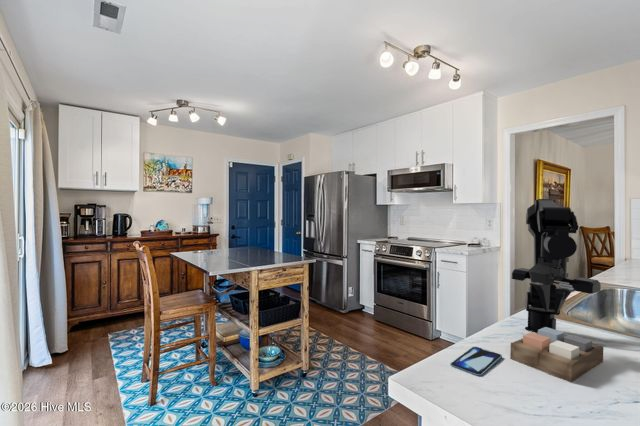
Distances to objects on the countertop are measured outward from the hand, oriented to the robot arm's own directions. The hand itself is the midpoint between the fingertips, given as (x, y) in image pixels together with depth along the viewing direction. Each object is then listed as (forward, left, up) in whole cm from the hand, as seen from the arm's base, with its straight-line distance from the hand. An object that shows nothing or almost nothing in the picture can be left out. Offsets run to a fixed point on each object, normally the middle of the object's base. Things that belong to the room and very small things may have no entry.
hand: (551, 311), depth 87 cm
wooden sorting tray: (+3, -4, -11) cm, 12 cm away
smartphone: (-7, -23, -12) cm, 26 cm away
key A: (+6, -8, -8) cm, 13 cm away
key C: (0, 0, -8) cm, 8 cm away
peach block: (0, -8, -8) cm, 11 cm away
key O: (+6, 0, -8) cm, 10 cm away
